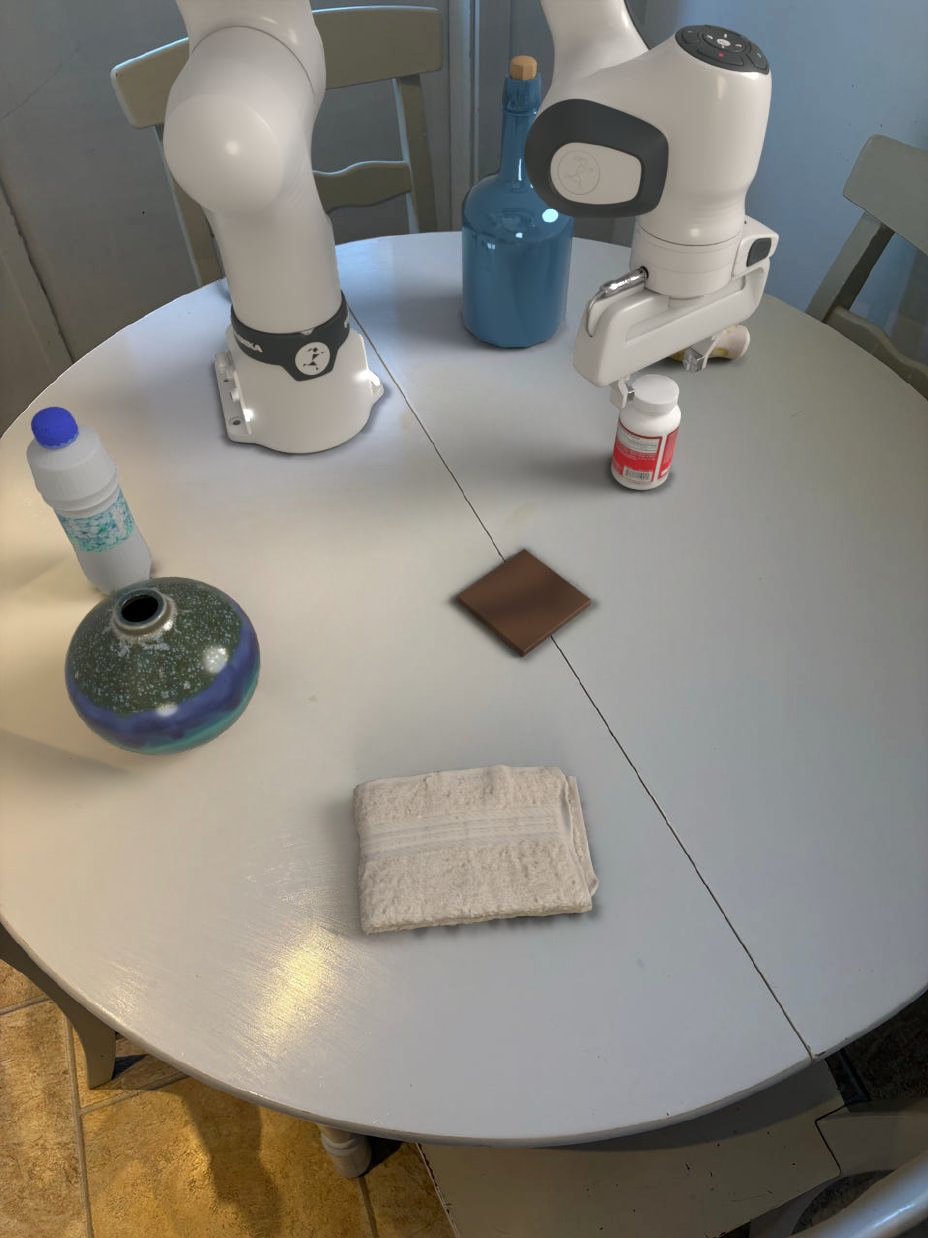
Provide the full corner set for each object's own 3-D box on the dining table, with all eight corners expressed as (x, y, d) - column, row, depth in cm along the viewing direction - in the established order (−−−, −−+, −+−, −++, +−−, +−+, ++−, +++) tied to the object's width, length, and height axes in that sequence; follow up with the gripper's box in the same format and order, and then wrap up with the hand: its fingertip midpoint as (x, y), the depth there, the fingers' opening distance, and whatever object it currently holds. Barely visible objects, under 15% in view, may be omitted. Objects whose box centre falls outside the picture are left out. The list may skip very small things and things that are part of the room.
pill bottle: (651, 448, 98) (668, 363, 89) (678, 483, 94) (698, 399, 86) (600, 461, 97) (613, 376, 88) (625, 498, 93) (641, 414, 85)
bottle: (172, 561, 88) (106, 397, 72) (135, 610, 84) (58, 449, 69) (113, 545, 90) (37, 380, 74) (75, 593, 86) (-15, 430, 70)
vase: (57, 712, 77) (-8, 617, 67) (196, 606, 84) (157, 506, 74) (168, 817, 71) (116, 730, 61) (308, 693, 78) (283, 597, 68)
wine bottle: (517, 365, 107) (530, 98, 84) (439, 322, 113) (430, 60, 90) (588, 318, 113) (618, 56, 90) (510, 279, 119) (520, 23, 96)
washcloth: (602, 915, 66) (607, 899, 64) (360, 943, 65) (356, 929, 62) (571, 773, 73) (575, 754, 71) (354, 796, 72) (349, 778, 70)
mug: (756, 373, 106) (736, 319, 99) (676, 394, 111) (651, 343, 103) (752, 325, 110) (733, 268, 102) (675, 346, 114) (650, 294, 106)
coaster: (456, 600, 85) (456, 595, 84) (523, 553, 88) (524, 548, 88) (523, 657, 81) (523, 652, 80) (590, 605, 84) (591, 599, 84)
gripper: (614, 308, 70) (596, 443, 81) (793, 230, 77) (754, 364, 88) (564, 273, 74) (553, 408, 85) (740, 202, 81) (709, 334, 92)
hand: (657, 385), depth 87 cm, fingers open, 8 cm apart
